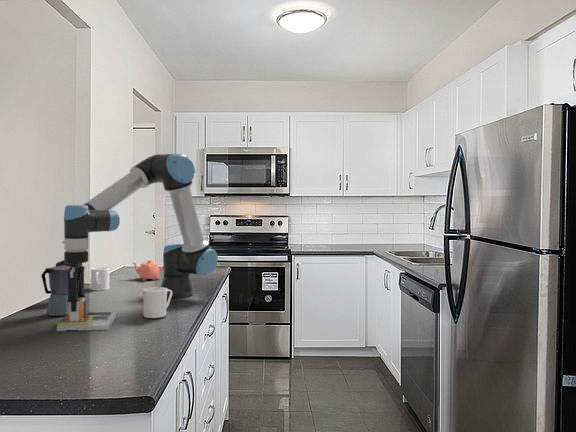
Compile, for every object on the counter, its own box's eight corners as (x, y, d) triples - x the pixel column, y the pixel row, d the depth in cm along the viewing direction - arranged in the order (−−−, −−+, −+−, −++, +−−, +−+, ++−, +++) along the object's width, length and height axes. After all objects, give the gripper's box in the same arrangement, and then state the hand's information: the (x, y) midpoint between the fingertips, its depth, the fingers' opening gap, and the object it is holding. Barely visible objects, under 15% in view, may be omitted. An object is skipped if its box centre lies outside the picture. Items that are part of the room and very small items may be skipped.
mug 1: (86, 292, 231) (86, 270, 230) (93, 287, 243) (93, 267, 242) (104, 292, 232) (104, 271, 231) (110, 287, 244) (110, 267, 243)
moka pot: (84, 311, 195) (84, 259, 194) (54, 320, 180) (53, 264, 180) (64, 309, 198) (64, 258, 197) (33, 318, 184) (32, 263, 183)
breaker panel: (115, 317, 187) (115, 310, 187) (107, 329, 170) (107, 321, 170) (69, 318, 184) (69, 310, 184) (56, 331, 167) (56, 322, 167)
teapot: (152, 276, 277) (153, 258, 276) (167, 279, 270) (167, 260, 269) (130, 280, 265) (130, 260, 265) (145, 282, 258) (145, 263, 258)
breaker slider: (87, 314, 183) (87, 298, 183) (85, 317, 179) (85, 300, 179) (76, 314, 183) (76, 298, 182) (73, 317, 179) (73, 300, 178)
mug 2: (145, 320, 183) (145, 292, 183) (140, 315, 191) (140, 288, 190) (175, 317, 188) (175, 290, 188) (169, 312, 196) (169, 286, 195)
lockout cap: (85, 319, 176) (85, 298, 176) (81, 323, 171) (82, 301, 171) (70, 320, 175) (70, 298, 175) (66, 323, 170) (66, 301, 170)
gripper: (71, 247, 180) (71, 312, 181) (57, 253, 163) (57, 325, 164) (93, 247, 181) (93, 312, 182) (82, 253, 164) (81, 325, 165)
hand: (76, 318), depth 173 cm, fingers closed on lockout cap, 5 cm apart
